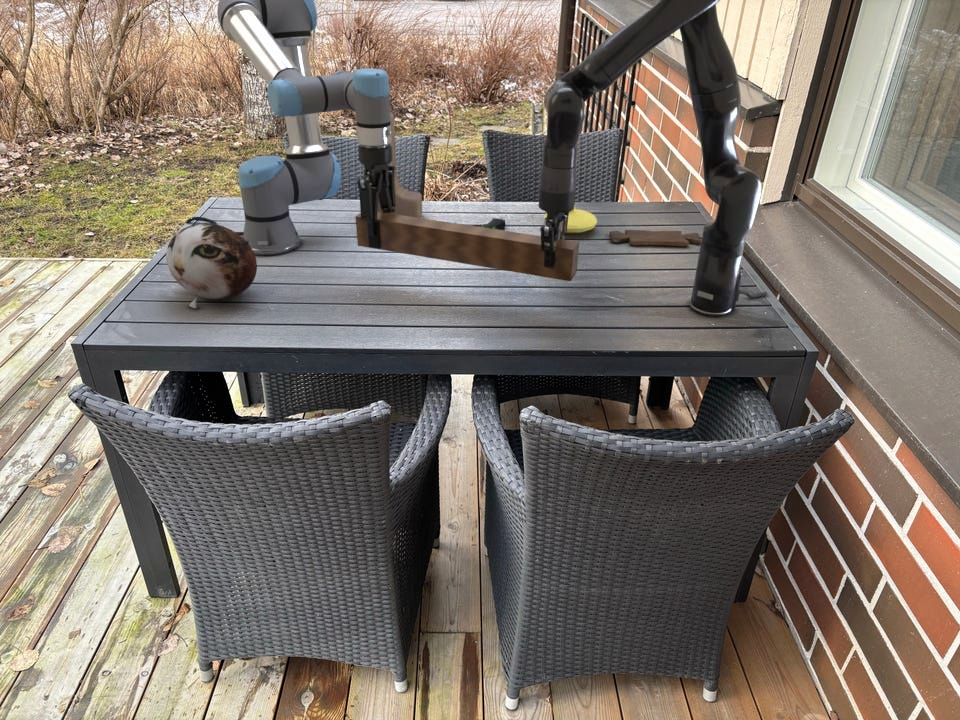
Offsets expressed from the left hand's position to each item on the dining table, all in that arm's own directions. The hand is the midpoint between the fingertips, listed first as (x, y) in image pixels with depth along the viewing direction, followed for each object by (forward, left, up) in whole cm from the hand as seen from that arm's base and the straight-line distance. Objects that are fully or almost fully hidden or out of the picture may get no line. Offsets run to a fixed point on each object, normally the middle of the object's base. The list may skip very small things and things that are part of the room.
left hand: (380, 242), depth 171 cm
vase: (+20, +61, -11) cm, 65 cm away
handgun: (-1, +43, -11) cm, 44 cm away
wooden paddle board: (+44, +67, -11) cm, 81 cm away
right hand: (+42, +9, +2) cm, 43 cm away
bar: (+21, +4, -1) cm, 21 cm away
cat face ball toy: (-28, -27, -11) cm, 40 cm away
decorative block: (-28, +39, -11) cm, 49 cm away
